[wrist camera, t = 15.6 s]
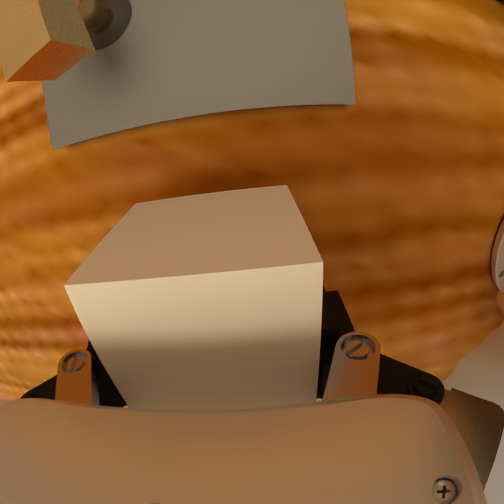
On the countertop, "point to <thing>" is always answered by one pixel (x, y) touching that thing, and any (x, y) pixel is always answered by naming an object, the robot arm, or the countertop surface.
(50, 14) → the key
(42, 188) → the countertop surface
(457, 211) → the countertop surface
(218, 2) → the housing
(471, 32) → the countertop surface
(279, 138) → the countertop surface
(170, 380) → the cream rectangular block
